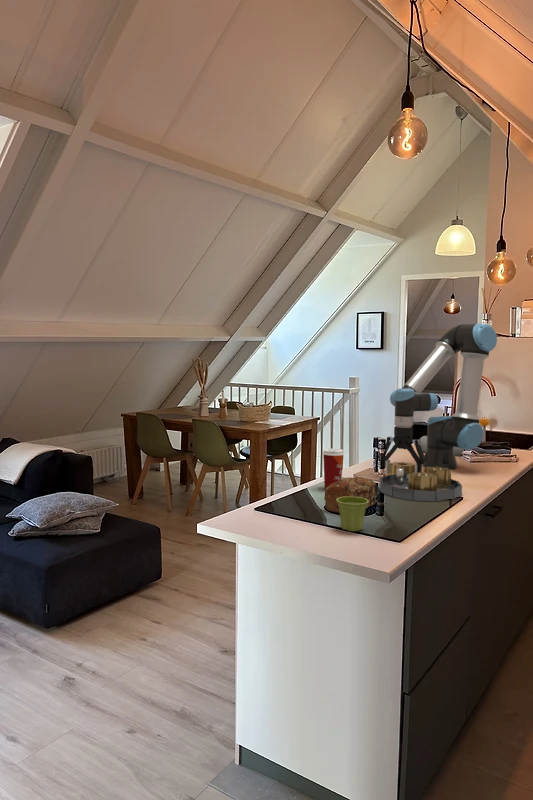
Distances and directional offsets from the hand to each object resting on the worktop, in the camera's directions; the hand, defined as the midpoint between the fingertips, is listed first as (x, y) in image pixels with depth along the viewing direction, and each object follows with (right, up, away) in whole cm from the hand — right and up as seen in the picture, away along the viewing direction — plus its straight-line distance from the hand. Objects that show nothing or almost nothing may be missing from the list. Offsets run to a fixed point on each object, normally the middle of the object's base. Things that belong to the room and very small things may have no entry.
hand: (401, 478), depth 253 cm
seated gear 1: (+1, -1, -31) cm, 31 cm away
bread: (-28, -4, -47) cm, 54 cm away
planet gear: (0, 0, 0) cm, 0 cm away
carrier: (+2, -2, -23) cm, 23 cm away
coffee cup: (-31, -2, -20) cm, 37 cm away
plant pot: (-31, -6, -71) cm, 77 cm away
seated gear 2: (+9, 0, -20) cm, 22 cm away
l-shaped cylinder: (+33, +4, +60) cm, 68 cm away
